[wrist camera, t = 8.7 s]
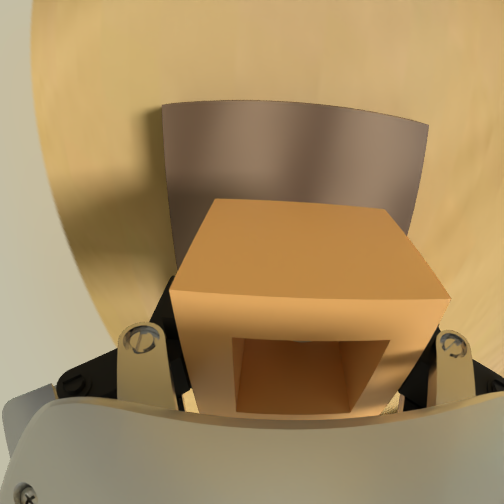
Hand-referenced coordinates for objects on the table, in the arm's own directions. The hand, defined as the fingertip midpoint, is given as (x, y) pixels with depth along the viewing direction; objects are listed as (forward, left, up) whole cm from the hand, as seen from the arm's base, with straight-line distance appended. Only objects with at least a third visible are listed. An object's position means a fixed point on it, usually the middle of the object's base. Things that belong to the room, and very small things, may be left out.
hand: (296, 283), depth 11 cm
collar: (0, 0, -1) cm, 1 cm away
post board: (0, +5, -7) cm, 8 cm away
